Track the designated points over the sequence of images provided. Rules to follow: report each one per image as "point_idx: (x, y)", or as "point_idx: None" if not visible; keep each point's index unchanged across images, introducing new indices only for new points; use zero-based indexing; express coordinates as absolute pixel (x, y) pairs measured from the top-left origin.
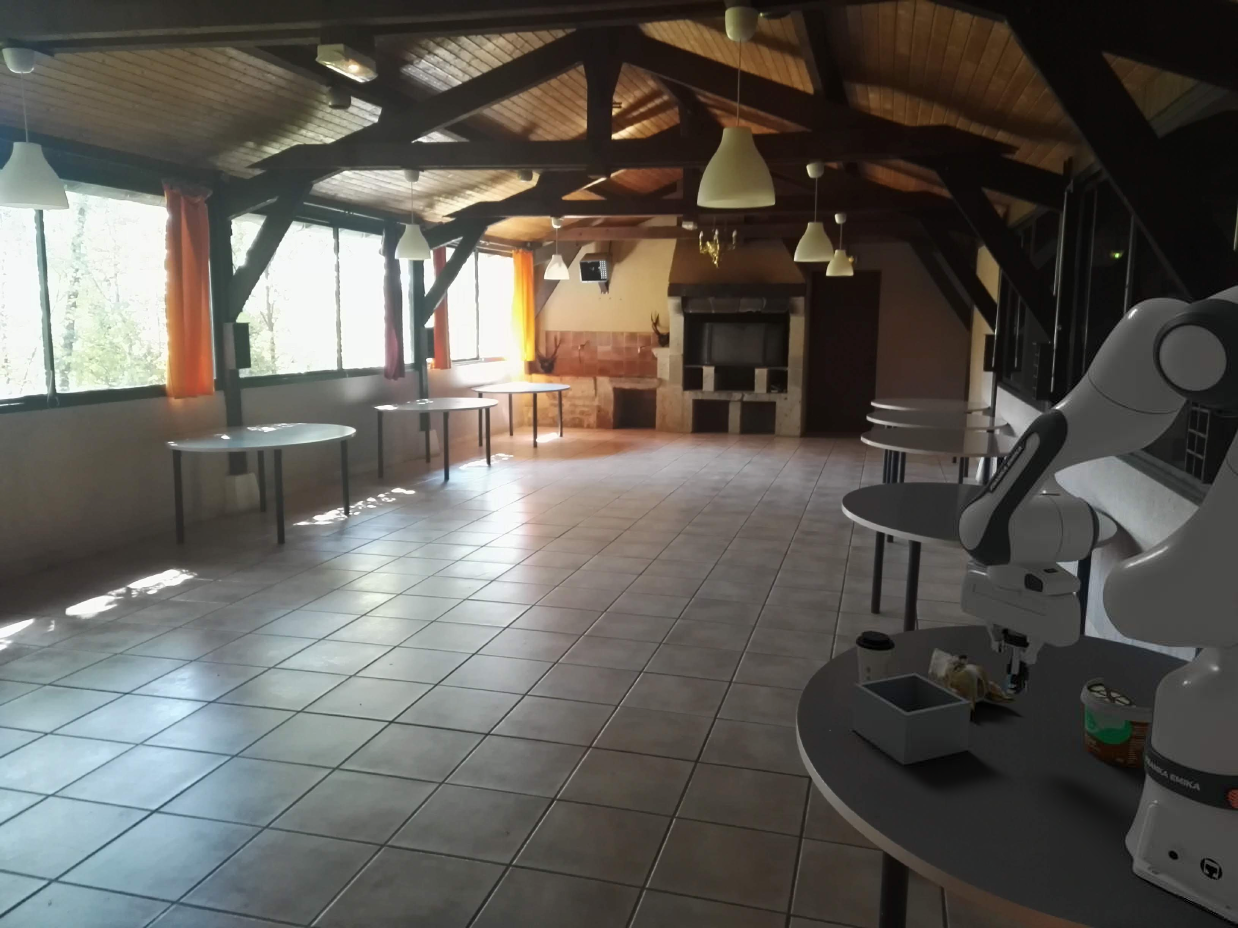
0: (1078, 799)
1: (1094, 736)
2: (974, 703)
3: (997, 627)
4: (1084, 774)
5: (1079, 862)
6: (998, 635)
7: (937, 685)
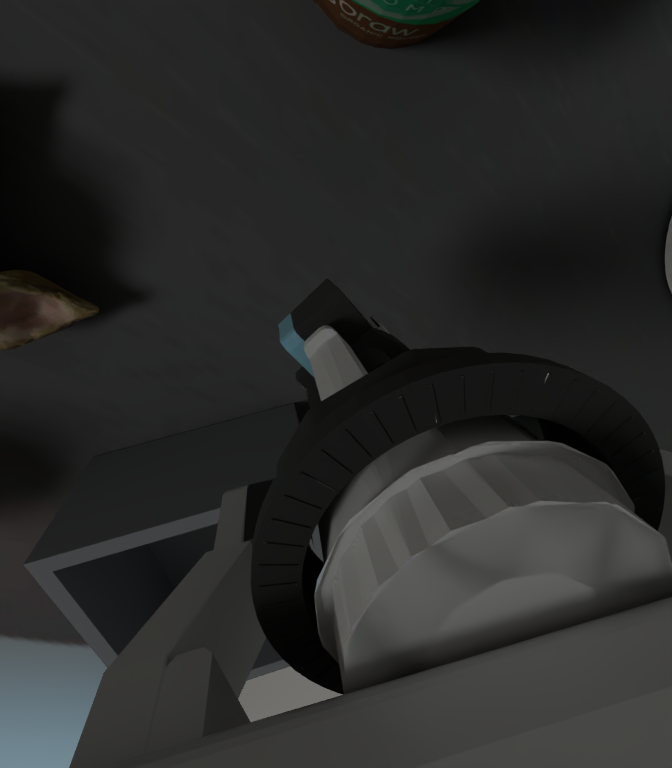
0: (541, 282)
1: (418, 24)
2: (42, 282)
3: (238, 708)
4: (466, 178)
5: (658, 405)
6: (243, 604)
7: (157, 530)
